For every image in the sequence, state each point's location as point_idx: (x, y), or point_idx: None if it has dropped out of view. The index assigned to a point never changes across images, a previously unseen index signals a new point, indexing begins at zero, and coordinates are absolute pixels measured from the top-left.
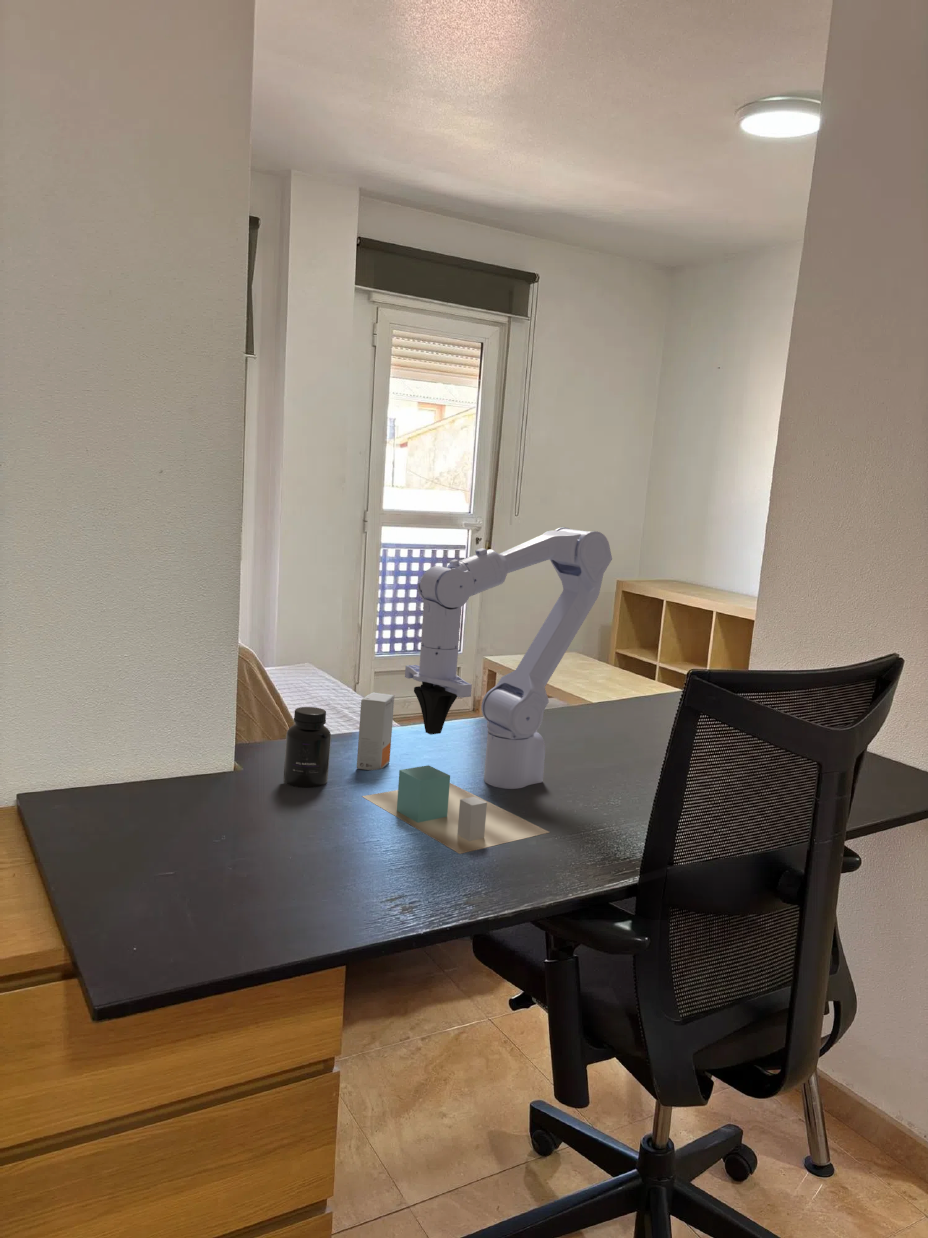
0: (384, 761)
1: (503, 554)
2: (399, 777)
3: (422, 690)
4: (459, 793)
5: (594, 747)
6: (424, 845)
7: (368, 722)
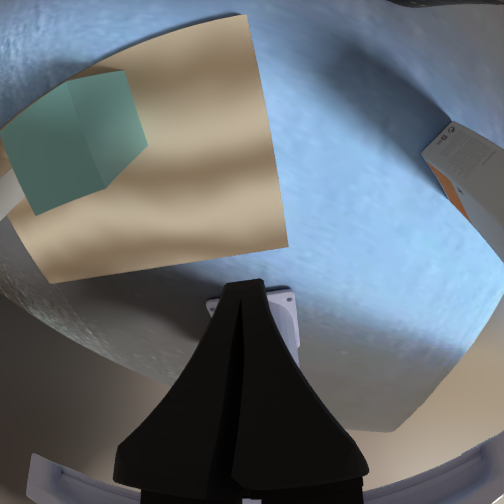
0: (440, 180)
1: None
2: (78, 79)
3: (206, 492)
4: (209, 240)
5: (336, 405)
6: (13, 103)
7: None
